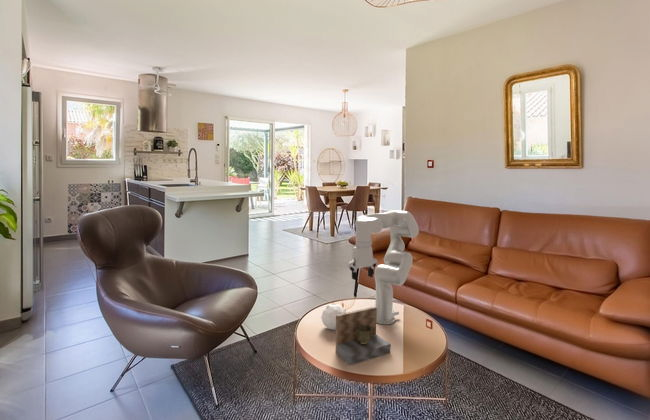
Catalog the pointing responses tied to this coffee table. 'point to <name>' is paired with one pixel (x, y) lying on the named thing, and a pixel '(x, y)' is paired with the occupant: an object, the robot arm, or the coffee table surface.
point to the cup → (363, 333)
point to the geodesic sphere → (331, 315)
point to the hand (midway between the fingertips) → (362, 278)
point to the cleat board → (348, 340)
